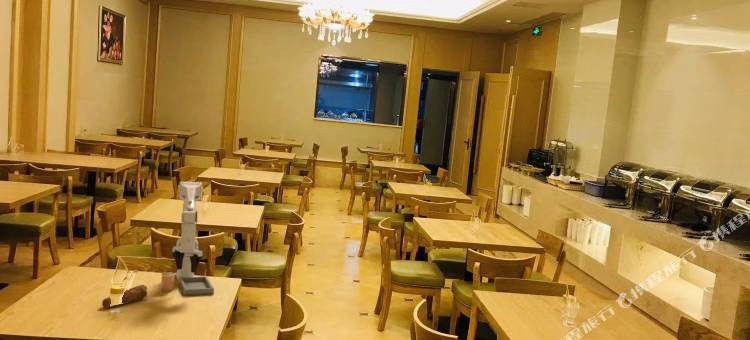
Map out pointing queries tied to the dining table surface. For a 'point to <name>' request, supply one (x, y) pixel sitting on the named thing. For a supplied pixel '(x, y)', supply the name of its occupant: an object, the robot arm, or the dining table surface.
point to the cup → (167, 281)
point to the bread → (129, 295)
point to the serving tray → (196, 285)
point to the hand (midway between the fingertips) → (186, 270)
